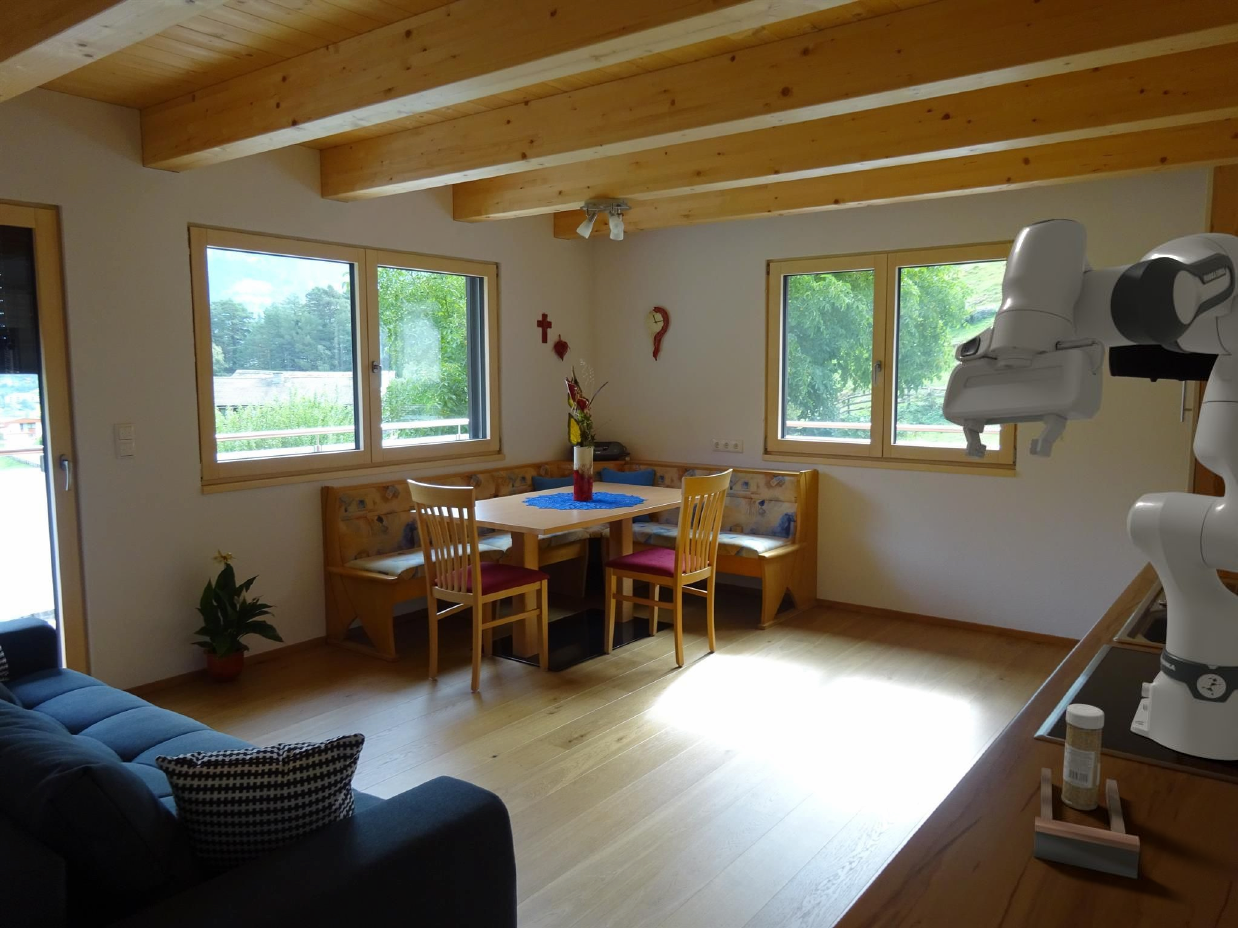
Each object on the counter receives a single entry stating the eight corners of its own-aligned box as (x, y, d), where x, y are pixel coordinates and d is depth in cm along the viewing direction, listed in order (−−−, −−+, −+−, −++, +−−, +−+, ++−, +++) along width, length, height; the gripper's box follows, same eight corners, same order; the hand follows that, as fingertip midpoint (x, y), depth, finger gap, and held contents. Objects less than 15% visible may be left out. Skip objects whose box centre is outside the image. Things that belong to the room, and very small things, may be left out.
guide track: (1034, 779, 131) (1036, 751, 131) (1122, 795, 127) (1124, 766, 126) (1033, 856, 111) (1035, 824, 111) (1137, 878, 107) (1140, 845, 106)
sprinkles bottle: (1104, 805, 124) (1111, 710, 122) (1085, 815, 121) (1092, 718, 120) (1072, 791, 128) (1078, 699, 126) (1053, 800, 125) (1059, 706, 123)
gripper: (1125, 345, 102) (1102, 463, 100) (980, 364, 120) (959, 465, 118) (1088, 325, 99) (1064, 446, 97) (946, 348, 118) (923, 450, 116)
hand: (1005, 456), depth 108 cm, fingers open, 8 cm apart
